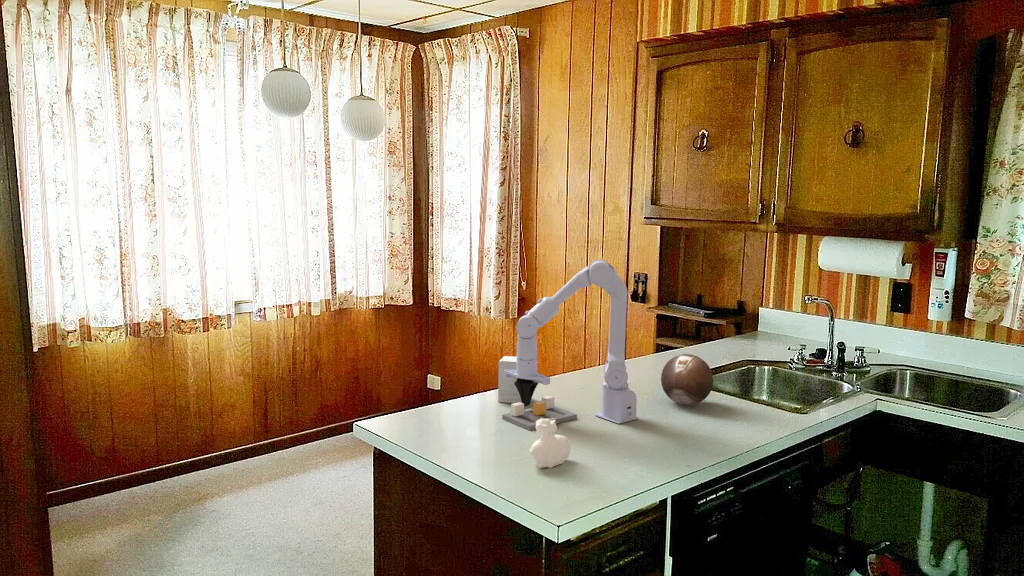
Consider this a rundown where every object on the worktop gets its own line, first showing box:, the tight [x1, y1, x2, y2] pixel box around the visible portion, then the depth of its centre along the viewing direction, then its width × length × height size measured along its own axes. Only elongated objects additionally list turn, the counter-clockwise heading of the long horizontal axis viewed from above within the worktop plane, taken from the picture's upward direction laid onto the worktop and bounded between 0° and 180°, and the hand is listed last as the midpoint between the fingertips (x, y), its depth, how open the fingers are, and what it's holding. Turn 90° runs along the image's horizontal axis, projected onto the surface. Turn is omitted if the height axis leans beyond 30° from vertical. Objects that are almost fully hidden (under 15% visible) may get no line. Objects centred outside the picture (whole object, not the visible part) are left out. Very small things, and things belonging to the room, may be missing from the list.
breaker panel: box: [501, 395, 578, 431], centre depth 201 cm, size 12×17×4 cm
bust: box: [529, 418, 572, 469], centre depth 169 cm, size 12×8×11 cm
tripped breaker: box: [532, 400, 546, 415], centre depth 201 cm, size 2×3×3 cm, turn 128°
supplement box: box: [497, 355, 522, 404], centre depth 219 cm, size 7×7×13 cm
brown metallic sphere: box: [660, 353, 714, 406], centre depth 215 cm, size 15×15×15 cm
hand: (526, 405), depth 206 cm, fingers closed
